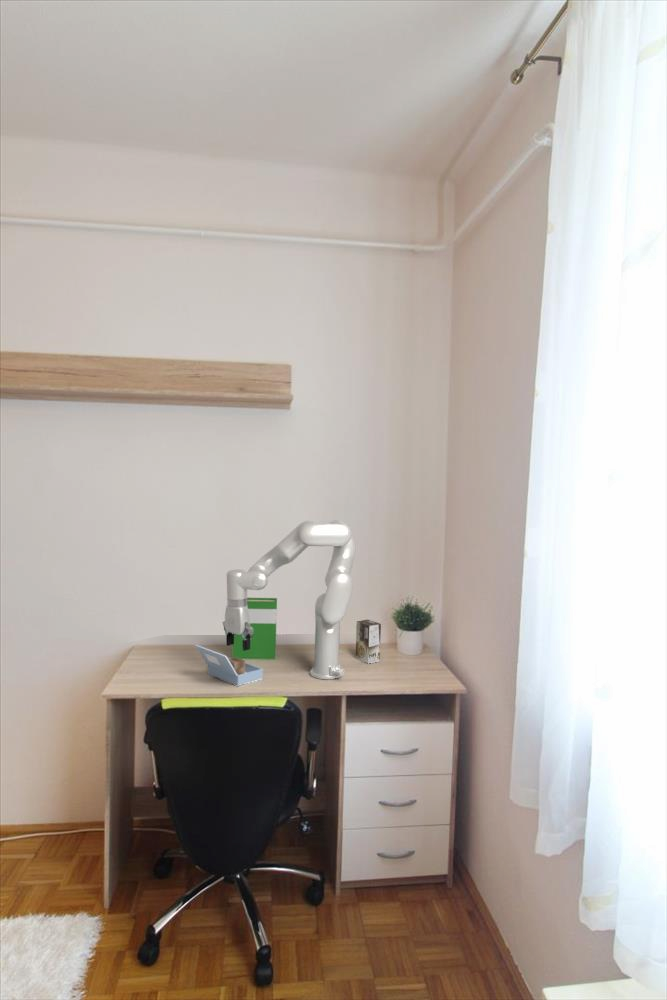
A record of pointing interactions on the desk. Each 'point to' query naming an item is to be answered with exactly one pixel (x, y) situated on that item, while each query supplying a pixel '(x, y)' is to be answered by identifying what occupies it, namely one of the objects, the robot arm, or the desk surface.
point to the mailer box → (249, 676)
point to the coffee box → (368, 641)
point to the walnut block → (238, 665)
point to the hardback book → (259, 630)
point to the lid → (216, 660)
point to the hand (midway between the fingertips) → (238, 647)
